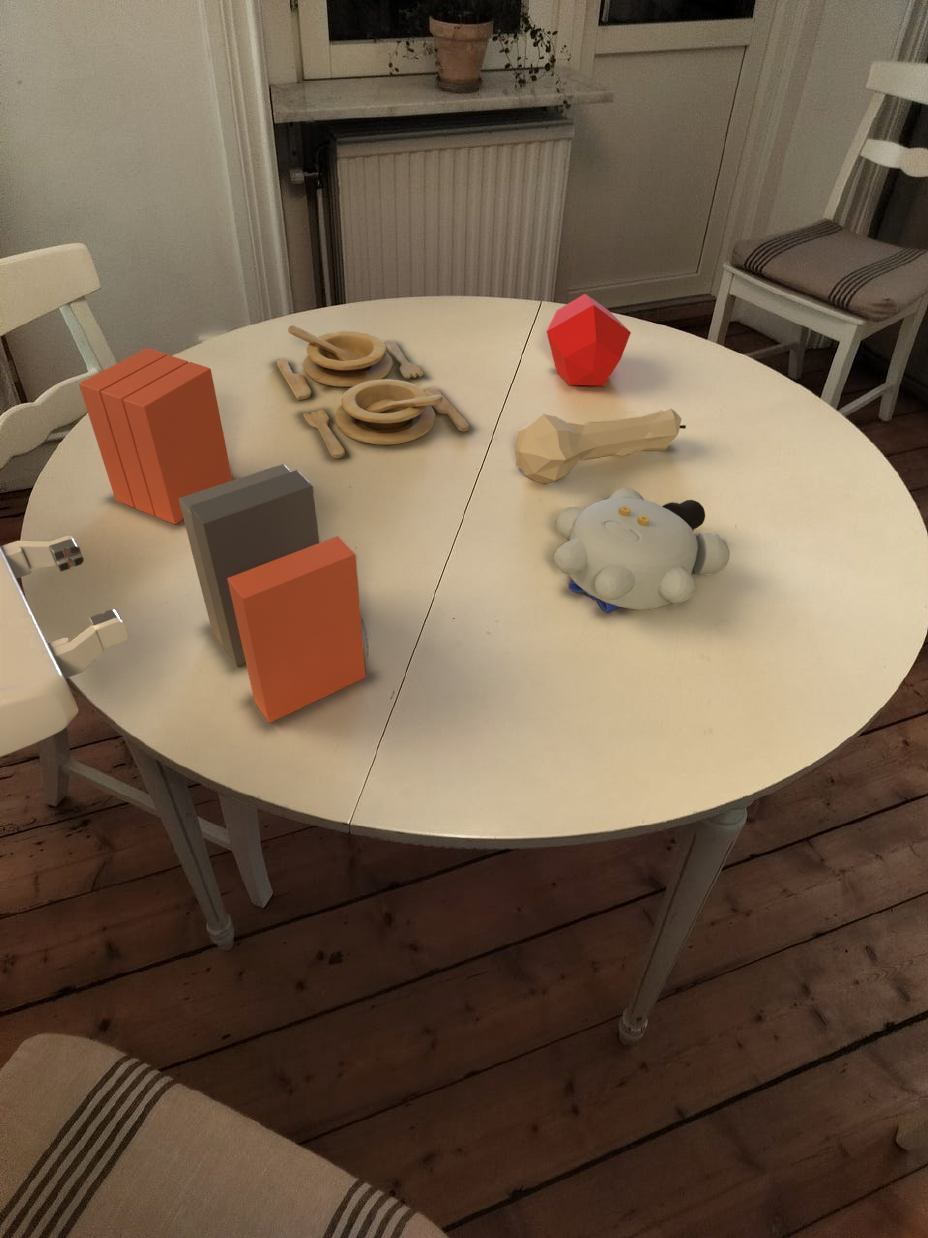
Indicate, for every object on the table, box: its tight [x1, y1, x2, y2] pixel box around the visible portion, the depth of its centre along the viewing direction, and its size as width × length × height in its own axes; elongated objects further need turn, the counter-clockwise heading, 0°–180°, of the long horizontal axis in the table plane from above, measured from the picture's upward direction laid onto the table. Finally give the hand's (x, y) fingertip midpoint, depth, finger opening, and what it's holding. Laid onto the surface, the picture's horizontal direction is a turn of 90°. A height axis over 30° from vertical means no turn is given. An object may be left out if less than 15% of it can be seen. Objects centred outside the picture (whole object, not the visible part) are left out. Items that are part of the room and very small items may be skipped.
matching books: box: [78, 347, 234, 525], centre depth 95 cm, size 10×9×15 cm
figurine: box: [553, 487, 731, 614], centre depth 89 cm, size 17×8×20 cm
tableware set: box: [276, 325, 470, 459], centre depth 116 cm, size 30×20×6 cm, turn 25°
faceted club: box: [514, 408, 687, 485], centre depth 104 cm, size 9×8×25 cm
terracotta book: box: [227, 535, 367, 724], centre depth 72 cm, size 10×3×15 cm, turn 125°
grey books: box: [179, 463, 320, 667], centre depth 77 cm, size 10×6×17 cm, turn 125°
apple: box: [546, 293, 632, 387], centre depth 121 cm, size 12×12×15 cm
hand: (100, 584), depth 58 cm, fingers open, 8 cm apart
